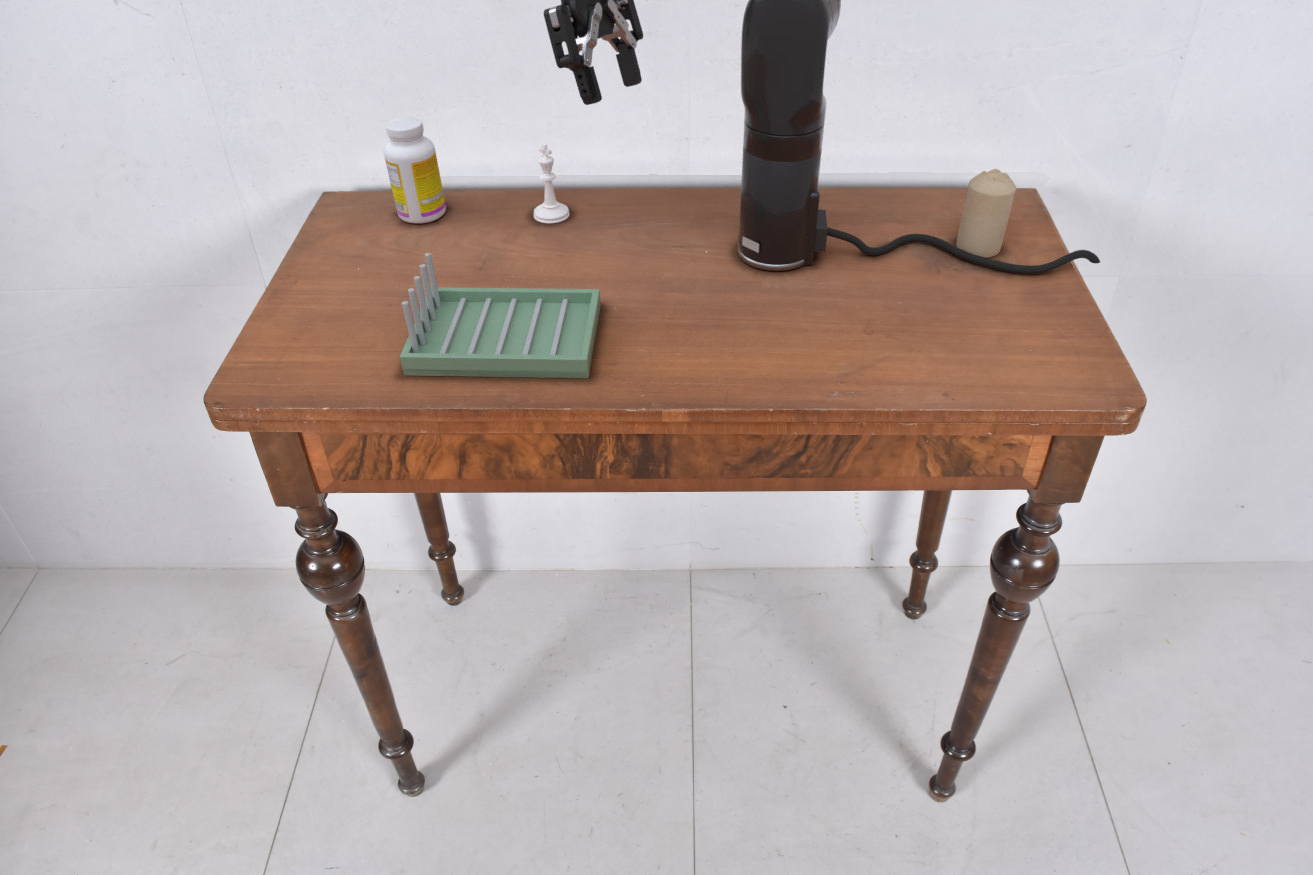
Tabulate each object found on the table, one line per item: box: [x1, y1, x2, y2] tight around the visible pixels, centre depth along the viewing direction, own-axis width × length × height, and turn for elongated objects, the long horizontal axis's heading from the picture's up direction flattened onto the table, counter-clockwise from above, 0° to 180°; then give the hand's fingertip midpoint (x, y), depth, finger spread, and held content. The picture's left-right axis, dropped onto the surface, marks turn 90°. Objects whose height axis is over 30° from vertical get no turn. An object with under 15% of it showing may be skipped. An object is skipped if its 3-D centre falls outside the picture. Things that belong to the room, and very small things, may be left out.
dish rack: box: [399, 252, 602, 379], centre depth 102 cm, size 20×14×8 cm
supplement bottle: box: [383, 116, 447, 224], centre depth 124 cm, size 7×7×13 cm
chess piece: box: [533, 143, 571, 224], centre depth 124 cm, size 5×5×10 cm
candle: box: [955, 168, 1017, 258], centre depth 115 cm, size 6×6×10 cm
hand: (614, 94), depth 106 cm, fingers open, 8 cm apart
